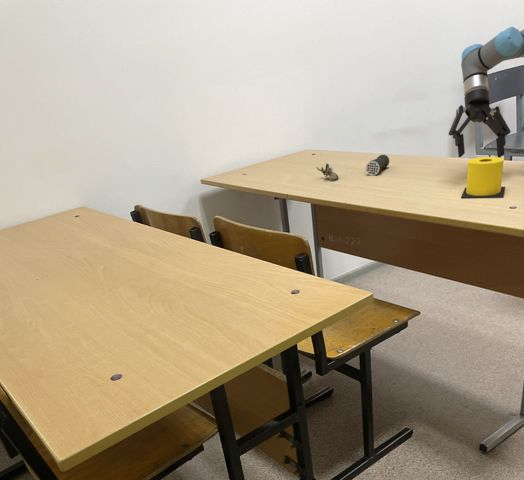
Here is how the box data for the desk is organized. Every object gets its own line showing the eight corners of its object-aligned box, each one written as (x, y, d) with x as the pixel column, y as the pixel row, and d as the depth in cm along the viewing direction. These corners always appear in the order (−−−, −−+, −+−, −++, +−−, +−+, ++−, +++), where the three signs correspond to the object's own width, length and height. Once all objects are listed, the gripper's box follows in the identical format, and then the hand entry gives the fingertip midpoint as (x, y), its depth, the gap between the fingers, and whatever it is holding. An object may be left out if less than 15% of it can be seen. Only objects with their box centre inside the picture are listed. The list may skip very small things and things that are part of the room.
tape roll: (483, 186, 172) (486, 155, 167) (507, 190, 163) (511, 159, 159) (459, 192, 169) (461, 161, 164) (482, 197, 160) (485, 165, 156)
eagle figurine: (312, 177, 212) (322, 176, 204) (319, 159, 211) (328, 158, 203) (328, 184, 215) (338, 184, 207) (334, 167, 214) (345, 166, 206)
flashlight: (377, 167, 219) (377, 153, 217) (390, 167, 217) (390, 153, 214) (365, 175, 208) (365, 161, 205) (379, 175, 205) (379, 161, 203)
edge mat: (505, 187, 168) (505, 186, 168) (503, 197, 159) (503, 196, 159) (465, 188, 173) (465, 187, 173) (460, 198, 164) (461, 197, 164)
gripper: (505, 101, 180) (510, 161, 178) (435, 99, 177) (439, 160, 175) (518, 88, 172) (524, 150, 170) (445, 85, 169) (450, 149, 167)
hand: (481, 155), depth 172 cm, fingers open, 13 cm apart
